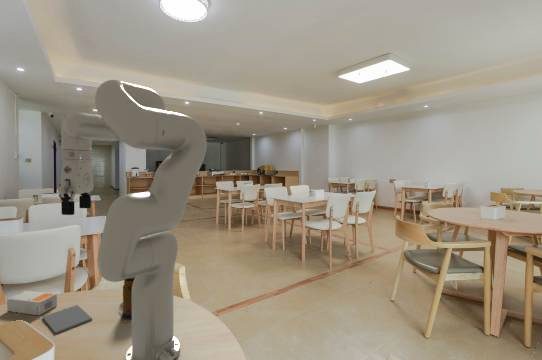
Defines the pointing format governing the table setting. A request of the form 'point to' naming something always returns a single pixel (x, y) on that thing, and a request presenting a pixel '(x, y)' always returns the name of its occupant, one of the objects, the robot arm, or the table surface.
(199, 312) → the table surface
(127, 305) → the condiment
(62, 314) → the mat
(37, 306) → the skincare box
